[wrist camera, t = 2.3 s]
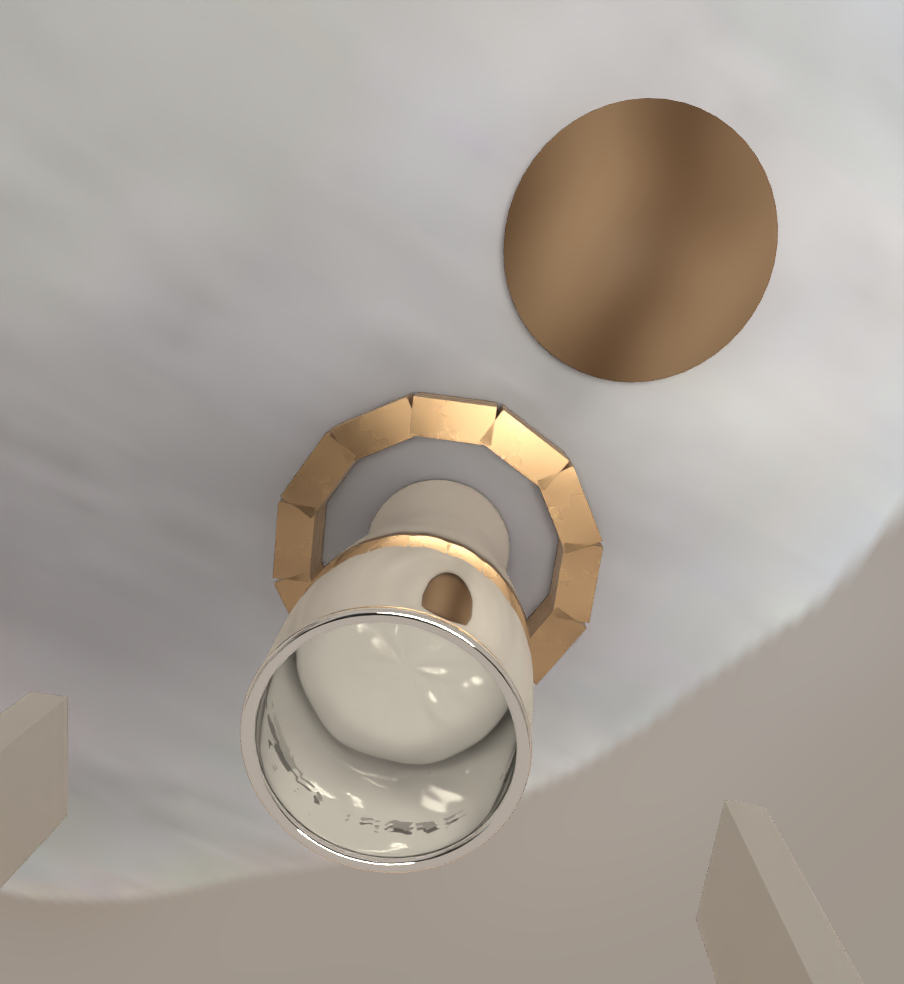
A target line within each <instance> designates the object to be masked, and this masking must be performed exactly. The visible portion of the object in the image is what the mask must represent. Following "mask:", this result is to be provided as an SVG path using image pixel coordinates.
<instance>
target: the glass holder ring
mask: <svg viewBox="0 0 904 984" xmlns="http://www.w3.org/2000/svg"><path fill="white" fill-rule="evenodd" d="M496 409H497V402H491V401H483V400H476V399H468V398H461V397H453V396H446V395H438V394H431V393H423V392H418V393H417V394H416V395H413V393H411V394H409V395H406V396H404V397H402V398H399V399H397V400H394V401H392V402H390V403H387V404H385V405H383V406H380V407H378V408H376V409H373V410H371V411H368V412H366V413H364V414H361V415H359V416H357V417H354V418H352V419H349V420H347V421H345V422H342V423H341V424H339V425H337V426H335V427H334V428H332V430H330V431H329V432H327V433H326V434H325V435H324V437H323V438H322V439H321V441H320V442H319V443H318V445H317V446H316V448H315V449H314V450H313V452H312V453H311V455H310V456H309V457H308V459H307V460H306V462H305V463H304V464H303V466H302V467H301V468H300V470H299V471H298V473H297V474H296V475H295V477H294V478H293V480H292V481H291V482H290V484H289V485H288V487H287V488H286V489H285V491H284V492H283V493H282V495H281V497H282V498H283V499H282V500H281V501H279V502H278V515H277V528H276V542H275V556H274V570H273V578H279V579H278V580H277V581H276V582H275V583H274V584H275V586H276V589H277V591H278V593H279V595H280V597H281V599H282V601H283V603H284V605H285V607H286V609H287V611H288V613H289V614H290V612H291V611H292V609H293V608H294V606H295V604H296V603H297V601H298V600H299V598H300V597H301V595H302V594H303V592H304V591H305V590H306V588H307V587H308V586H309V585H310V584H311V582H312V581H313V580H314V579H315V578H316V577H317V575H318V574H319V573H320V572H321V571H322V570H323V569H324V566H323V564H322V562H321V560H322V549H323V537H324V526H325V515H326V504H327V501H328V500H329V498H330V497H331V495H332V494H333V493H334V491H335V490H336V489H337V487H338V486H339V485H340V483H341V482H342V481H343V479H344V478H345V477H346V475H347V474H348V472H349V471H350V470H351V468H352V467H353V466H354V464H355V463H356V462H357V460H358V459H361V458H363V457H365V456H368V455H370V454H373V453H375V452H378V451H380V450H382V449H385V448H387V447H390V446H392V445H395V444H397V443H399V442H402V441H404V440H407V439H409V438H412V437H414V436H421V437H429V438H436V439H444V440H451V441H458V442H466V443H473V444H481V445H485V446H487V447H488V448H489V449H490V450H492V451H493V452H494V453H496V454H497V455H498V456H500V457H501V458H502V459H503V460H505V461H506V462H507V463H509V464H510V465H511V466H513V467H514V468H515V469H516V470H518V471H519V472H520V473H522V474H523V475H524V476H526V477H527V478H528V479H530V480H531V481H532V482H533V483H535V484H536V485H537V486H539V488H540V490H541V493H542V495H543V498H544V500H545V503H546V505H547V508H548V510H549V513H550V515H551V517H552V520H553V522H554V525H555V527H556V530H557V532H558V535H559V541H558V547H557V552H556V558H555V564H554V570H553V576H552V582H551V588H550V594H549V595H548V596H547V597H546V598H545V600H544V601H543V602H542V603H541V604H540V605H539V607H538V608H537V609H536V610H535V611H534V612H533V614H532V615H531V616H530V617H529V618H528V619H527V626H528V631H529V637H530V642H531V648H532V658H533V682H534V683H535V684H536V685H537V684H538V683H539V681H540V680H541V679H542V678H543V677H544V676H545V675H546V673H547V672H548V671H549V670H550V669H551V668H552V667H553V666H554V664H555V663H556V662H557V661H558V660H559V659H560V658H561V657H562V655H563V654H564V653H565V652H566V651H567V650H568V649H569V647H570V646H571V645H572V644H573V643H574V642H575V641H576V640H577V638H578V637H579V636H580V635H581V634H582V633H583V632H584V631H585V629H586V626H585V623H584V622H588V623H589V621H590V615H591V610H592V605H593V599H594V594H595V588H596V583H597V577H598V572H599V566H600V561H601V555H602V550H603V547H602V545H601V543H600V542H601V541H602V539H601V536H600V534H599V531H598V528H597V526H596V523H595V521H594V518H593V516H592V513H591V510H590V508H589V505H588V503H587V500H586V498H585V495H584V493H583V490H582V487H581V485H580V482H579V480H578V477H577V475H576V472H575V469H574V467H573V465H572V463H571V462H570V460H569V458H567V456H566V455H565V453H564V452H563V451H562V450H561V449H559V448H558V447H557V446H555V445H554V444H553V443H551V442H550V441H549V440H548V439H546V438H545V437H544V436H542V435H541V434H540V433H539V432H537V431H536V430H535V429H533V428H532V427H531V426H530V425H528V424H527V423H526V422H524V421H523V420H522V419H521V418H519V417H518V416H517V415H515V414H514V413H513V412H512V411H510V410H509V409H508V408H506V407H505V406H504V405H503V406H502V407H501V408H500V409H499V411H498V412H497V413H496Z"/></svg>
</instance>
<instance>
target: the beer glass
mask: <svg viewBox="0 0 904 984" xmlns="http://www.w3.org/2000/svg"><path fill="white" fill-rule="evenodd" d="M509 551H510V546H509V537H508V533H507V529H506V526H505V524H504V521H503V519H502V517H501V516H500V514H499V512H498V511H497V510H496V508H495V507H494V506H493V505H492V503H491V502H490V501H489V500H488V499H487V498H485V497H484V496H483V495H482V494H480V493H479V492H477V491H476V490H474V489H472V488H470V487H468V486H466V485H463V484H461V483H458V482H454V481H448V480H426V481H420V482H417V483H413V484H411V485H408V486H406V487H404V488H402V489H401V490H399V491H398V492H396V493H395V494H393V495H392V496H391V497H390V498H389V499H388V500H387V501H386V502H385V503H384V504H383V505H382V506H381V508H380V509H379V510H378V512H377V514H376V515H375V517H374V519H373V521H372V524H371V526H370V530H369V533H368V535H367V536H365V537H363V538H361V539H360V540H358V541H357V542H355V543H354V544H352V545H351V546H349V547H348V548H347V549H345V550H344V551H343V552H341V553H340V554H339V555H337V556H336V557H335V558H334V559H333V560H331V561H330V562H329V563H328V564H327V565H326V566H325V567H324V569H323V570H322V571H321V572H320V573H319V574H318V575H317V577H316V578H315V579H314V580H313V581H312V582H311V584H310V585H309V586H308V587H307V588H306V590H305V591H304V592H303V594H302V595H301V597H300V598H299V600H298V601H297V603H296V604H295V606H294V608H293V609H292V611H291V612H290V614H289V615H288V617H287V619H286V620H285V622H284V624H283V626H282V628H281V630H280V632H279V633H278V635H277V637H276V639H275V641H274V643H273V645H272V647H271V649H270V651H269V653H268V655H267V657H266V659H265V660H264V662H263V663H262V665H261V666H260V667H259V669H258V671H257V672H256V674H255V676H254V678H253V680H252V682H251V684H250V686H249V689H248V691H247V694H246V697H245V701H244V705H243V709H242V715H241V724H240V742H241V750H242V756H243V761H244V765H245V768H246V771H247V774H248V777H249V779H250V782H251V784H252V786H253V788H254V790H255V792H256V794H257V796H258V798H259V799H260V801H261V802H262V804H263V805H264V807H265V808H266V810H267V811H268V812H269V814H270V815H271V816H272V817H273V818H274V819H275V821H276V822H277V823H278V824H279V825H280V826H281V827H282V828H283V829H284V830H285V831H286V832H287V833H289V834H290V835H291V836H292V837H293V838H295V839H296V840H297V841H299V842H300V843H301V844H303V845H304V846H306V847H307V848H309V849H311V850H312V851H314V852H316V853H318V854H320V855H322V856H324V857H326V858H328V859H330V860H333V861H335V862H338V863H340V864H343V865H347V866H350V867H354V868H358V869H363V870H368V871H375V872H386V873H403V872H414V871H421V870H425V869H430V868H434V867H438V866H441V865H444V864H447V863H450V862H452V861H455V860H457V859H459V858H461V857H463V856H465V855H467V854H468V853H470V852H472V851H474V850H475V849H477V848H478V847H480V846H481V845H482V844H484V843H485V842H486V841H487V840H489V839H490V838H491V837H492V836H493V835H494V834H495V833H496V832H497V831H498V830H499V829H500V828H501V827H502V826H503V825H504V823H505V822H506V821H507V820H508V818H509V817H510V816H511V814H512V813H513V811H514V810H515V808H516V806H517V804H518V803H519V801H520V798H521V796H522V794H523V792H524V789H525V786H526V783H527V780H528V776H529V772H530V766H531V758H532V737H531V725H532V712H533V689H534V682H533V658H532V648H531V642H530V637H529V631H528V626H527V621H526V617H525V613H524V610H523V608H522V605H521V602H520V600H519V598H518V595H517V593H516V591H515V589H514V586H513V584H512V582H511V580H510V578H509V577H508V575H507V573H506V569H507V565H508V560H509Z"/></svg>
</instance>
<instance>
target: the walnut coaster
mask: <svg viewBox="0 0 904 984" xmlns="http://www.w3.org/2000/svg"><path fill="white" fill-rule="evenodd" d="M777 239H778V222H777V212H776V205H775V201H774V197H773V192H772V188H771V186H770V183H769V181H768V178H767V176H766V173H765V171H764V169H763V167H762V165H761V164H760V162H759V160H758V158H757V156H756V155H755V153H754V152H753V151H752V150H751V148H750V147H749V146H748V144H747V143H746V142H745V140H744V139H743V138H742V137H741V136H739V135H738V134H737V133H736V132H735V131H734V130H733V129H732V128H731V127H730V126H728V125H727V124H726V123H724V122H723V121H722V120H720V119H719V118H717V117H716V116H714V115H712V114H710V113H708V112H706V111H704V110H702V109H700V108H698V107H695V106H692V105H689V104H686V103H683V102H678V101H673V100H668V99H654V98H643V99H632V100H625V101H621V102H617V103H613V104H609V105H606V106H604V107H601V108H599V109H596V110H593V111H591V112H589V113H587V114H586V115H584V116H582V117H580V118H578V119H577V120H575V121H573V122H572V123H571V124H569V125H568V126H567V127H565V128H564V129H562V130H561V131H560V132H559V133H558V134H556V135H555V136H554V137H553V138H552V139H551V140H550V141H549V142H548V143H547V144H546V145H545V146H544V147H543V148H542V150H541V151H540V152H539V153H538V155H537V156H536V157H535V158H534V159H533V161H532V162H531V164H530V166H529V167H528V169H527V170H526V172H525V174H524V175H523V177H522V179H521V181H520V183H519V185H518V187H517V190H516V192H515V194H514V197H513V200H512V203H511V206H510V209H509V213H508V218H507V223H506V228H505V239H504V268H505V274H506V279H507V285H508V288H509V292H510V295H511V298H512V301H513V303H514V306H515V308H516V310H517V312H518V314H519V316H520V318H521V320H522V321H523V323H524V324H525V326H526V327H527V329H528V331H529V332H530V333H531V334H532V335H533V337H534V338H535V339H536V340H537V341H538V343H539V344H540V345H541V346H543V347H544V348H545V349H546V350H547V351H548V352H549V353H550V354H551V355H553V356H554V357H556V358H557V359H559V360H560V361H562V362H563V363H565V364H566V365H568V366H570V367H572V368H574V369H576V370H578V371H580V372H583V373H586V374H589V375H592V376H594V377H597V378H602V379H607V380H612V381H620V382H644V381H653V380H658V379H663V378H667V377H670V376H673V375H676V374H679V373H682V372H685V371H687V370H689V369H691V368H693V367H695V366H697V365H699V364H701V363H702V362H704V361H706V360H707V359H709V358H710V357H712V356H713V355H715V354H716V353H717V352H719V351H720V350H721V349H722V348H723V347H725V346H726V345H727V344H728V343H729V342H730V341H731V340H732V339H733V338H734V337H735V336H736V335H737V334H738V333H739V332H740V331H741V330H742V328H743V327H744V326H745V324H746V323H747V322H748V320H749V319H750V318H751V316H752V315H753V313H754V312H755V310H756V308H757V306H758V305H759V303H760V301H761V299H762V297H763V295H764V293H765V290H766V288H767V285H768V283H769V280H770V277H771V273H772V270H773V266H774V263H775V256H776V250H777Z"/></svg>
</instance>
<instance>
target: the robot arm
mask: <svg viewBox="0 0 904 984" xmlns="http://www.w3.org/2000/svg"><path fill="white" fill-rule="evenodd" d="M67 738H68V697H64V696H57V695H51V694H45V693H38V692H32V691H31V692H30V693H28V694H27V695H26V696H24V697H23V698H21V699H20V700H19V701H17V702H16V703H15V704H13V705H12V706H11V707H9V708H8V709H7V710H5V711H4V712H3V713H1V714H0V888H1V887H2V886H3V885H4V884H5V883H6V882H7V881H8V880H9V878H10V877H11V876H12V875H13V874H14V873H15V872H16V871H17V870H18V869H19V868H20V867H21V865H22V864H23V863H24V862H25V861H26V860H27V859H28V858H29V857H30V856H31V855H32V853H33V852H34V851H35V850H36V849H37V848H38V847H39V846H40V845H41V844H42V843H43V841H44V840H45V839H46V838H47V837H48V836H49V835H50V834H51V833H52V832H53V831H54V830H55V828H56V827H57V826H58V825H59V824H60V823H61V822H62V821H63V820H64V819H65V818H66V816H67ZM696 922H697V924H698V927H699V930H700V934H701V937H702V940H703V942H704V946H705V948H706V952H707V955H708V958H709V961H710V964H711V967H712V969H713V973H714V976H715V979H716V982H717V984H864V983H863V981H862V980H861V978H860V976H859V974H858V972H857V971H856V969H855V967H854V965H853V964H852V962H851V960H850V958H849V956H848V954H847V953H846V951H845V949H844V947H843V946H842V944H841V942H840V940H839V938H838V937H837V935H836V933H835V932H834V930H833V928H832V926H831V924H830V922H829V921H828V919H827V917H826V915H825V913H824V912H823V910H822V908H821V906H820V904H819V903H818V901H817V899H816V897H815V896H814V894H813V892H812V890H811V888H810V887H809V885H808V883H807V881H806V880H805V878H804V876H803V874H802V872H801V870H800V869H799V867H798V865H797V863H796V861H795V860H794V858H793V856H792V854H791V853H790V851H789V849H788V847H787V845H786V844H785V842H784V840H783V838H782V836H781V835H780V833H779V831H778V829H777V828H776V826H775V824H774V822H773V821H772V819H771V817H770V815H769V813H768V811H767V810H766V808H765V807H764V806H759V805H753V804H746V803H740V802H733V801H727V800H725V801H724V805H723V809H722V813H721V817H720V821H719V826H718V830H717V834H716V838H715V842H714V846H713V851H712V854H711V859H710V863H709V867H708V871H707V875H706V880H705V884H704V888H703V892H702V896H701V900H700V904H699V908H698V912H697V917H696Z"/></svg>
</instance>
